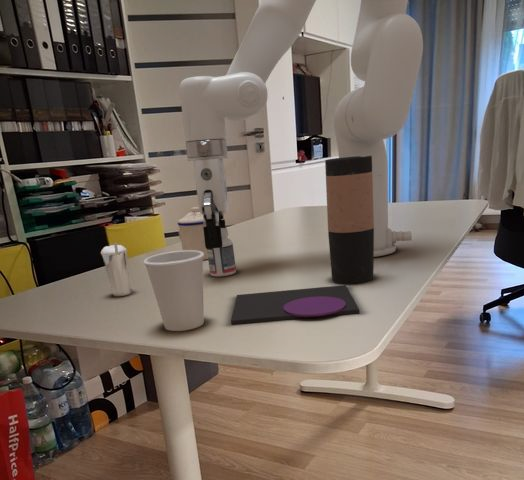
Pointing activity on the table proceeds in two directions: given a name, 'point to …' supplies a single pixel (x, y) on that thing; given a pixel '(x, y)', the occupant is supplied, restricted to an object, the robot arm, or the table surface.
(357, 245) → the travel mug
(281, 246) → the table surface
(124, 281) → the milkshake
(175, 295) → the dixie cup
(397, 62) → the robot arm
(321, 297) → the placemat
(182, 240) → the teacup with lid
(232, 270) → the pill bottle
